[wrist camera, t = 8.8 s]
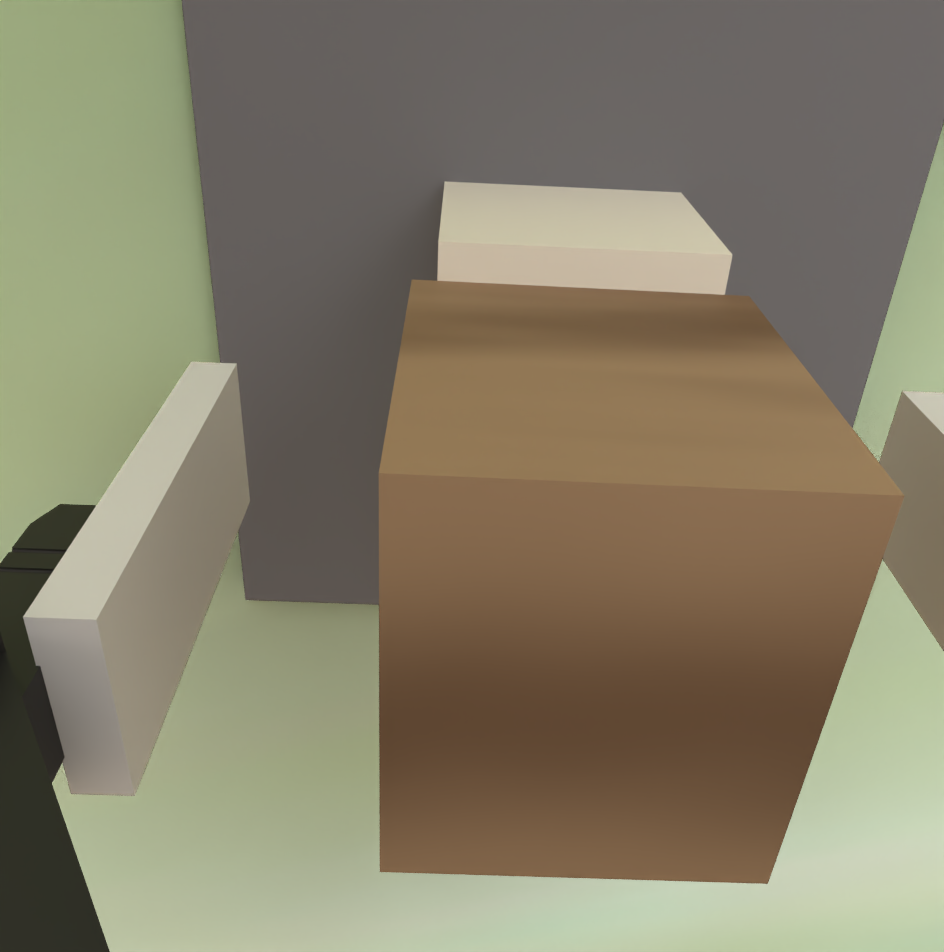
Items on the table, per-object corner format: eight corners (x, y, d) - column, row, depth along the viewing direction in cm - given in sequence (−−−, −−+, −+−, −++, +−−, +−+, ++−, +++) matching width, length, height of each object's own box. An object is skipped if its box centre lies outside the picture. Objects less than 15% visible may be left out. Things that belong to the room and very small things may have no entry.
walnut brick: (412, 279, 14) (379, 473, 9) (749, 295, 14) (904, 495, 9) (406, 597, 18) (379, 872, 12) (681, 608, 18) (768, 883, 13)
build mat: (185, -41, 16) (93, -34, 12) (965, 0, 16) (1121, 19, 12) (249, 587, 23) (205, 718, 19) (789, 606, 23) (852, 738, 20)
